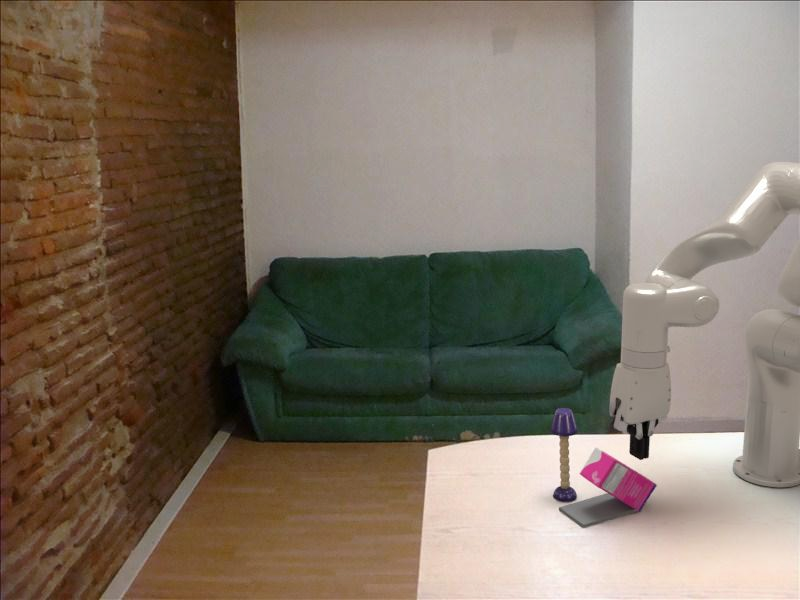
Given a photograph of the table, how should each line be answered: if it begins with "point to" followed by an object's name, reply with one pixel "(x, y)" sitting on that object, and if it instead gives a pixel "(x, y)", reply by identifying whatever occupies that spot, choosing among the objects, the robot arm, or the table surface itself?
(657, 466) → the table surface
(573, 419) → the toy lamp
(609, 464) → the supplement box
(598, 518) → the mat
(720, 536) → the table surface
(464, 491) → the table surface
